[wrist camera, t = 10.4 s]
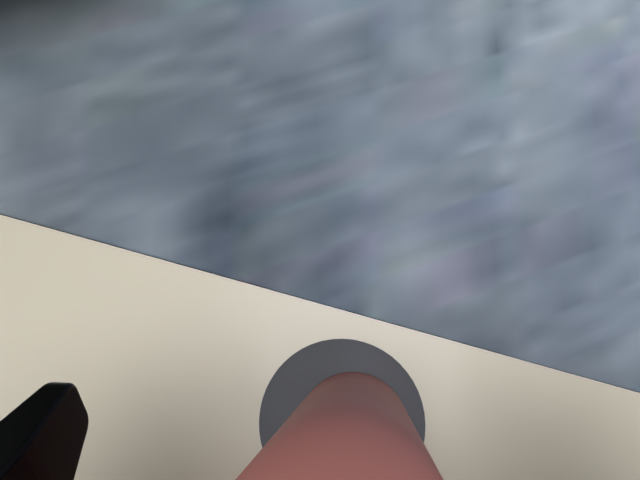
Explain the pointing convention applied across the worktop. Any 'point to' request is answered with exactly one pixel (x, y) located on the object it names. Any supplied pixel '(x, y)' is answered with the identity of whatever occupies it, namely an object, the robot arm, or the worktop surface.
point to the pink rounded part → (345, 437)
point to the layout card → (270, 372)
